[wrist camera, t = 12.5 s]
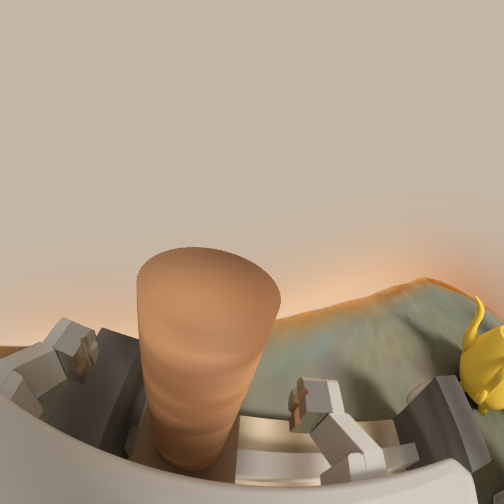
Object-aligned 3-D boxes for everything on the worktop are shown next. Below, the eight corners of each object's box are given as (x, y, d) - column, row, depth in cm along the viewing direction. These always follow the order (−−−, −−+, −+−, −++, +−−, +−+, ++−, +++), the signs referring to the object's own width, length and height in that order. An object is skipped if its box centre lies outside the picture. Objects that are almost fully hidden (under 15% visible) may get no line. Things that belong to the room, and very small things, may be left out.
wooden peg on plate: (136, 482, 12) (56, 324, 5) (154, 416, 17) (148, 221, 10) (224, 501, 12) (332, 389, 5) (231, 433, 17) (302, 255, 10)
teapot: (415, 374, 28) (465, 307, 23) (448, 340, 36) (482, 285, 31) (498, 457, 14) (561, 400, 9) (514, 403, 22) (556, 352, 17)
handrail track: (77, 484, 10) (28, 447, 7) (114, 386, 20) (99, 319, 16) (428, 497, 12) (494, 458, 9) (407, 419, 22) (455, 370, 18)
